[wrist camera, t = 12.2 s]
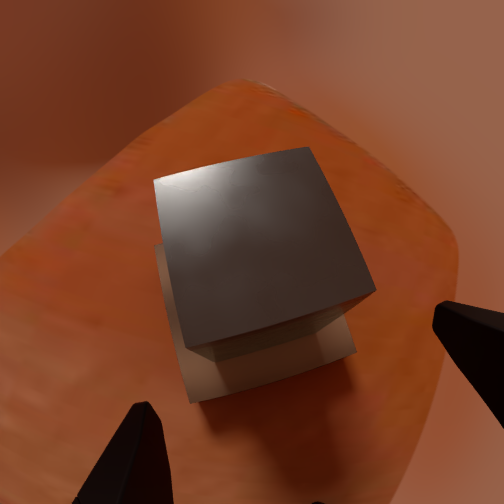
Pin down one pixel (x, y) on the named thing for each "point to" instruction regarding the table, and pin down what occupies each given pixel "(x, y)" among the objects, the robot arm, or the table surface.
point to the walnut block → (250, 354)
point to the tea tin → (257, 253)
